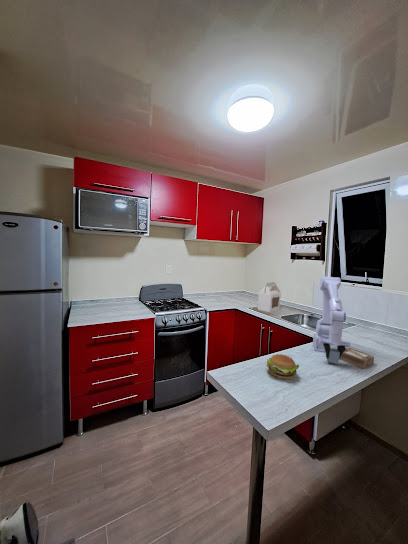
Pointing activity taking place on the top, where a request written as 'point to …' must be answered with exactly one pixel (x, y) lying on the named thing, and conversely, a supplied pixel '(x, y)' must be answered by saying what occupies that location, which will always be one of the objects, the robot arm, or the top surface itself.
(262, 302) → the gable box
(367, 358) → the walnut base
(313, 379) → the top surface
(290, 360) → the food
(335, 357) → the block
